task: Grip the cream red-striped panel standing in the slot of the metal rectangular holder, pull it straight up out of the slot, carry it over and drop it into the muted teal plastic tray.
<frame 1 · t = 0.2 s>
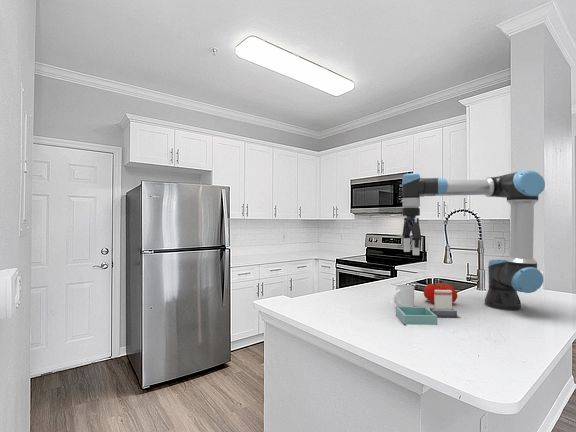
hand: (411, 253, 149), 27 cm above the counter, fingers open, 13 cm apart
metal rectangular holder: (443, 316, 143), on the counter
mug: (402, 308, 157), on the counter
tomato: (439, 304, 164), on the counter
cream red-striped panel: (443, 315, 143), point 1 cm above the counter, touching metal rectangular holder
tray: (415, 320, 137), on the counter
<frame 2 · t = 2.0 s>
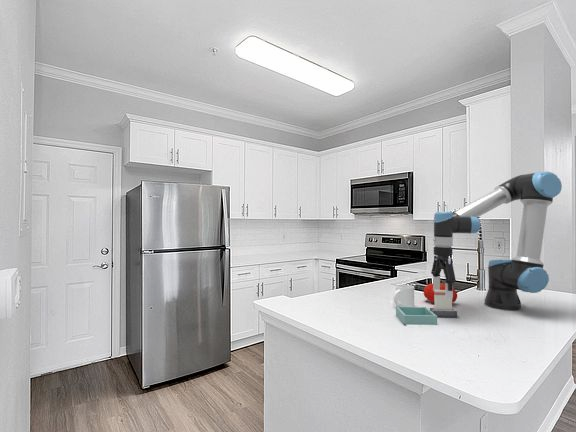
hand: (442, 294, 143), 10 cm above the counter, fingers open, 13 cm apart
nothing on the counter moved.
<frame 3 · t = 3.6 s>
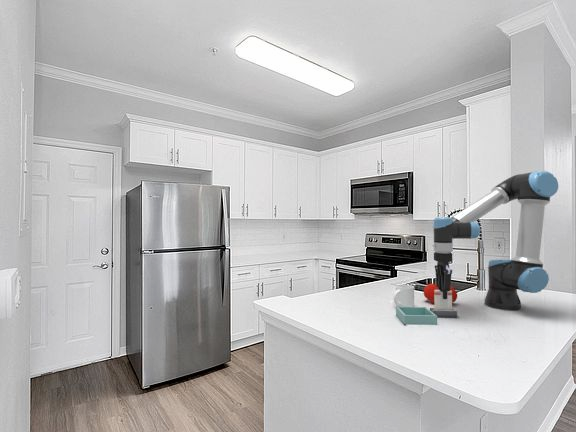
hand: (443, 305, 143), 5 cm above the counter, fingers closed on cream red-striped panel, 1 cm apart
cream red-striped panel: (443, 315, 143), point 1 cm above the counter, touching metal rectangular holder, gripper
everything else where it was.
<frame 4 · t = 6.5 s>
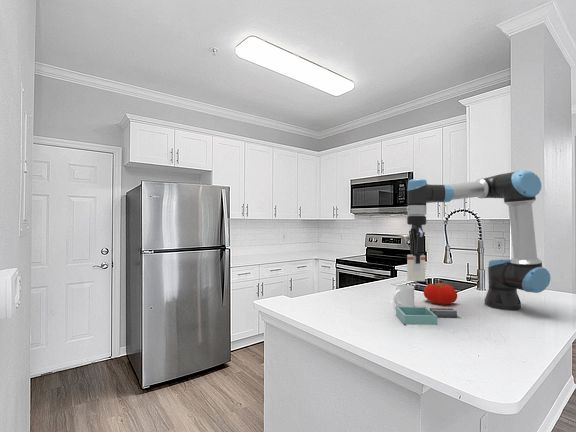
hand: (416, 270, 137), 21 cm above the counter, fingers closed on cream red-striped panel, 1 cm apart
cream red-striped panel: (416, 280, 137), point 17 cm above the counter, touching gripper
everything else where it was.
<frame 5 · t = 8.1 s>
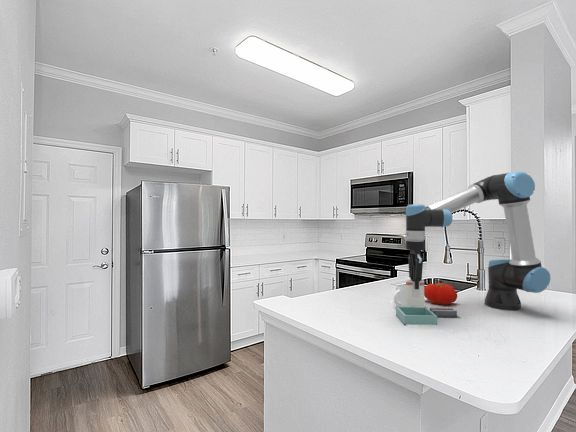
hand: (415, 295, 137), 10 cm above the counter, fingers closed on cream red-striped panel, 1 cm apart
cream red-striped panel: (415, 306, 137), point 6 cm above the counter, touching gripper
everything else where it was.
when the fingers open (6 cm above the counter, at t = 9.3 s): cream red-striped panel drops 2 cm, resting on tray.
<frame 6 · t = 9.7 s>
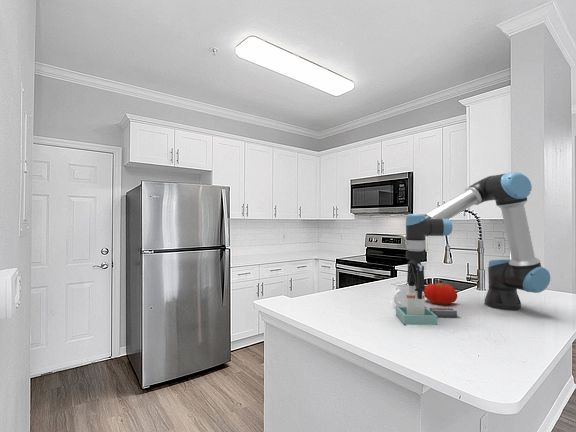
hand: (415, 303, 137), 7 cm above the counter, fingers open, 8 cm apart
cream red-striped panel: (415, 319, 137), point 1 cm above the counter, touching tray
everything else where it was.
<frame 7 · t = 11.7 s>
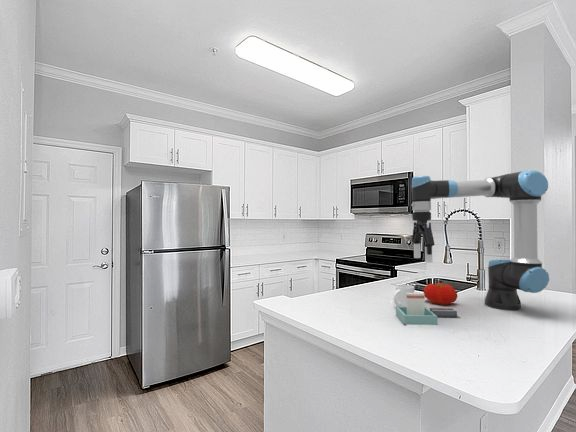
hand: (422, 260, 141), 25 cm above the counter, fingers open, 13 cm apart
nothing on the counter moved.
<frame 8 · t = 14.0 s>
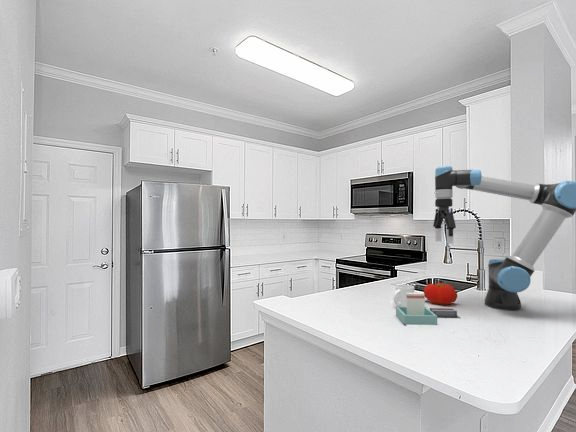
hand: (443, 242, 156), 32 cm above the counter, fingers open, 13 cm apart
nothing on the counter moved.
at the end: cream red-striped panel inside the target area on the tray (0.0 cm from its centre), point 0.6 cm above the tray's base; the gripper is holding nothing; cream red-striped panel moved 15.4 cm from its start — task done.
